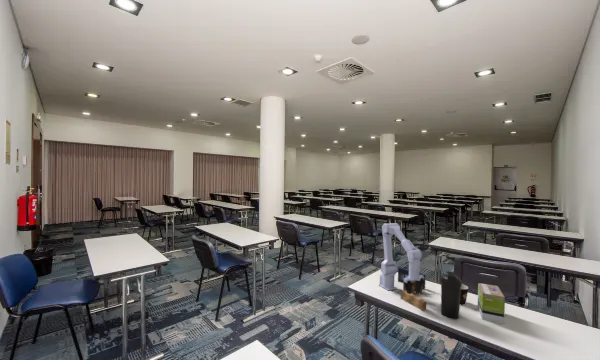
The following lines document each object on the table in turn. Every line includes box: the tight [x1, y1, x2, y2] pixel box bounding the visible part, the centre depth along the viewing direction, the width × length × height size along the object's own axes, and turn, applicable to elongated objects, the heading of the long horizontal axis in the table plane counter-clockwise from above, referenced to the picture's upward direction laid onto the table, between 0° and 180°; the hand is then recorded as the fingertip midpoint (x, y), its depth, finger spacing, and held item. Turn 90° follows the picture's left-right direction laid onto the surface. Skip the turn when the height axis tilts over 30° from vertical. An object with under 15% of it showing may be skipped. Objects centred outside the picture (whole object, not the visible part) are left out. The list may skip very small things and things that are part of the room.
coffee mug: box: [460, 283, 469, 306], centre depth 159 cm, size 12×9×10 cm
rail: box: [400, 289, 428, 312], centre depth 155 cm, size 16×3×5 cm, turn 25°
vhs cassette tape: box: [397, 266, 427, 291], centre depth 182 cm, size 18×3×10 cm, turn 43°
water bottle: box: [440, 271, 463, 320], centre depth 144 cm, size 10×10×23 cm
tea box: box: [477, 282, 506, 324], centre depth 145 cm, size 15×10×15 cm, turn 154°
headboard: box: [402, 281, 424, 296], centre depth 169 cm, size 5×15×7 cm, turn 115°
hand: (413, 292), depth 155 cm, fingers open, 7 cm apart
